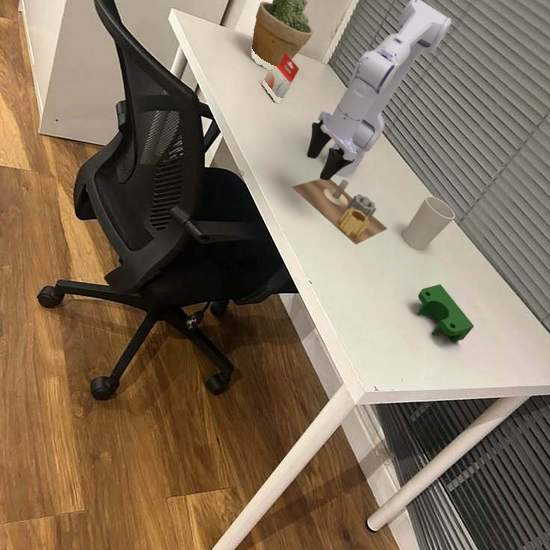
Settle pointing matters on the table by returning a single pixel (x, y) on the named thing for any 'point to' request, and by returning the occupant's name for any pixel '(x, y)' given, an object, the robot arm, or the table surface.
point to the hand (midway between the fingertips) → (317, 167)
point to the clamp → (444, 313)
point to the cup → (427, 223)
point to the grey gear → (359, 206)
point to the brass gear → (353, 222)
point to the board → (335, 204)
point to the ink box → (281, 76)
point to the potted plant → (280, 30)
